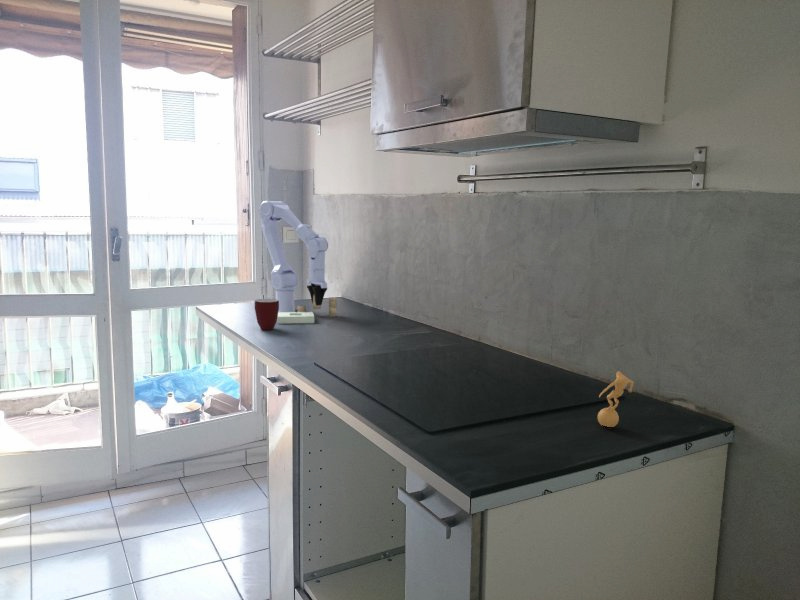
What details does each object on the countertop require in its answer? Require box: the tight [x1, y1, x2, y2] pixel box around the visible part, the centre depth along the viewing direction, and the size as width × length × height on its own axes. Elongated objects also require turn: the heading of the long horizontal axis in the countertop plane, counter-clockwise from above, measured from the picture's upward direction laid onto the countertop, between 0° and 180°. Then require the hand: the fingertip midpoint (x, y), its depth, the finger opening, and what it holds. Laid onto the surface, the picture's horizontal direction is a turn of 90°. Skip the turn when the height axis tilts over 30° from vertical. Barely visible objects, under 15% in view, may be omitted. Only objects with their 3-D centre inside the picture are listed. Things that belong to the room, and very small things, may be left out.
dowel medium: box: [312, 294, 322, 310], centre depth 234 cm, size 3×3×6 cm
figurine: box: [597, 370, 635, 428], centre depth 119 cm, size 8×6×12 cm
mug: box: [254, 298, 279, 331], centre depth 208 cm, size 11×8×10 cm
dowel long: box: [328, 297, 338, 318], centre depth 235 cm, size 3×3×7 cm
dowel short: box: [296, 305, 306, 312], centre depth 233 cm, size 3×3×4 cm
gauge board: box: [277, 311, 315, 325], centre depth 223 cm, size 9×13×2 cm
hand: (316, 304), depth 234 cm, fingers closed on dowel medium, 3 cm apart
